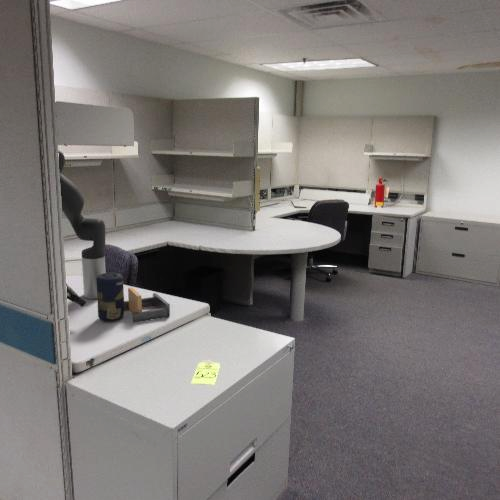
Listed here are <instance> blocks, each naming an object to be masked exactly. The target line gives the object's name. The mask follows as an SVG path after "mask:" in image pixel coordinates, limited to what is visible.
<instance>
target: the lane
mask: <svg viewBox="0 0 500 500" xmlns="http://www.w3.org/2000/svg"><path fill="white" fill-rule="evenodd" d="M141 303H142V309H144V307H145V308H149V307H150V306H151V307H154V308H155V309H149V310H142V311H141V312H135V313H132V312H131V313H132V323H133V324H136V323H142V322H147V321H146V320H148V321H152V320H151V319H154V320H158V319H157V318H160V319H163V318H162V317H165V318H169V317H168V316H170V317H171V310H170V309H171V308H170V307H171V305H170V303H169V302H168V301H166V300H165V299H164V298H162V296H160V295H159V294H158V293H157V292H153V293H152V296H150V297H143V298H142V297H141ZM151 307H150V308H151ZM126 311H130V310H129V300H124V312H126ZM141 321H142V322H141Z"/></svg>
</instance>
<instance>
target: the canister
mask: <svg viewBox="0 0 500 500" xmlns="http://www.w3.org/2000/svg"><path fill="white" fill-rule="evenodd" d="M96 281H97V299H96V301H97V317H98V319H99V320H100V321H102V322H107V323H112V322H118V321H120V320H122V319H123V318H124V317H125V311H124V301H125V293H124V290H125V288H124V276H123V275H122V274H121V273H118V272H106V273H104V274H100V275H99V276H97V279H96Z"/></svg>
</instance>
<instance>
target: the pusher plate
mask: <svg viewBox="0 0 500 500" xmlns="http://www.w3.org/2000/svg"><path fill="white" fill-rule="evenodd" d="M127 293H128V301H129V310H128V311H129V312H130V313H135V312H141V311H143V308H142V303H141V299H142V295H141V294H140V293H139V292H138V291H137V290H136V289H135V288H134V287H130V286H129V287H127Z"/></svg>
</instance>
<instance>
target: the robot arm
mask: <svg viewBox="0 0 500 500" xmlns="http://www.w3.org/2000/svg"><path fill="white" fill-rule="evenodd" d="M57 150H58V153H59V169H60V183H61V196H62V210H61V211H62V212H63V213H64V215H65V217H66V218H67V220H68V221H69V223H70V225H71V227H72V229H73V232H74V233H75V235H76V236H77V238H78V239H79V240H81V241H85V242H86V241H87V242H89V241H90V242H93V243H92V246H90V247H86V248H84V249H82V250H81V265H82V268H81V269H82V281H83V282H82V283H83V286H82V287H83V297H84V298H85V299H91V300H94V299H95V300H97V281H96V279H97V276H99V275H100V274H104V273H107V271H106V269H107V268H106V224H105V222H104V220H103V219H100V218H87V217H84V216H83V214H82V211H83V210H84V205H85V200H84V196H83V195H82V193H81V191H80V189H78V187H77V186H76V185H75V184H74V183H73V182H72V181H71V180H69V178H67V176H65V175H63V174H62V171H63V170H64V168H65V164H66V158H65V155H64V153H63V152H62V151H61V150H59V149H57ZM66 286H67V298H66V299H67V300H69V301H70V302H73V303H76V304H77V305H79V306H80V307H84V306H85V305H86V303H87V302H86V300H84V299H83V298H82V297H81V296H79V295H78V293H76V291H74V289H73V288H72V287H71V286H69V284H68V283H66Z"/></svg>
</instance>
